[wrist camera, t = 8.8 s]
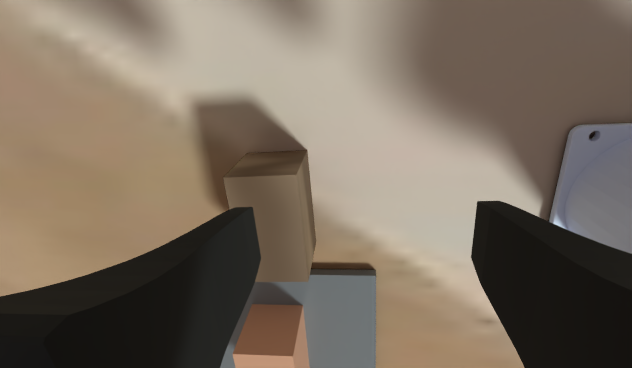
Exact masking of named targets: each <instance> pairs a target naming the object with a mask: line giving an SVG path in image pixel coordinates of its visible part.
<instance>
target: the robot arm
mask: <svg viewBox="0 0 632 368" xmlns="http://www.w3.org/2000/svg"><path fill="white" fill-rule="evenodd" d="M593 131H595V135H594V137H593V138H591V139H589V135H590V133H592V132H593ZM471 258H472V261H473V264H474V267H475V270H476V273H477V275H478V278H479V281H480V283H481V286H482V287H483V289H484V291H485V293H486V295H487V297H488V299H489V301H490V303H491V304H492V306H493V308H494V310H495V312H496V314H497V316H498V317H499V319H500V321H501V323H502V325H503V326H504V328H505V330H506V332H507V334H508V336H509V338H510V339H511V341H512V343H513V345H514V347H515V349H516V351H517V353H518V355H519V357H520V359H521V361H522V363H523V365H524V367H525V368H632V123H617V124H590V125H578V126H576V127H574V128H573V129H572V130H571V131H570V133H569V135H568V139H567V143H566V148H565V152H564V157H563V161H562V166H561V170H560V175H559V179H558V184H557V188H556V192H555V197H554V201H553V206H552V210H551V215H550V219H549V222H548V221H546V220H544V219H542V218H539V217H537V216H535V215H533V214H530V213H528V212H526V211H524V210H521V209H519V208H517V207H514V206H512V205H509V204H507V203H504V202H501V201H477V210H476V219H475V228H474V237H473V245H472V254H471ZM260 261H261V254H260V248H259V242H258V236H257V230H256V223H255V217H254V211H253V207H235V208H232V209H230V210H228V211H226V212H224V213H222V214H220V215H218V216H216V217H215V218H213V219H211V220H209V221H208V222H206V223H204V224H202V225H200V226H199V227H197V228H195V229H193V230H192V231H190V232H188V233H186V234H184V235H182V236H180V237H178V238H176V239H174V240H172V241H171V242H169V243H167V244H165V245H163V246H161V247H159V248H156V249H154V250H152V251H150V252H148V253H145V254H143V255H140V256H138V257H136V258H133V259H131V260H128V261H126V262H123V263H120V264H117V265H114V266H112V267H109V268H106V269H103V270H100V271H97V272H94V273H91V274H88V275H85V276H82V277H78V278H75V279H72V280H68V281H65V282H61V283H57V284H53V285H50V286H46V287H42V288H38V289H34V290H29V291H25V292H20V293H15V294H11V295H6V296H1V297H0V368H220V366H221V363H222V360H223V357H224V354H225V351H226V349H227V346H228V344H229V341H230V339H231V336H232V334H233V332H234V330H235V327H236V325H237V323H238V320H239V318H240V316H241V314H242V311H243V309H244V307H245V305H246V302H247V300H248V298H249V295H250V293H251V291H252V288H253V286H254V283H255V280H256V276H257V273H258V269H259V265H260Z"/></svg>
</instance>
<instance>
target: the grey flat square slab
mask: <svg viewBox="0 0 632 368" xmlns="http://www.w3.org/2000/svg"><path fill="white" fill-rule="evenodd" d="M252 304H266V305H303V310H304V319H305V329H306V338H307V348H308V357H309V366H310V368H375V359H376V271H375V270H342V269H311V271H310V276H309V281H308V282H255V283H254V286H253V288H252V291H251V293H250V295H249V298H248V300H247V302H246V305H245V307H244V309H243V311H242V314H241V316H240V318H239V320H238V323H237V325H236V327H235V330H234V332H233V334H232V336H231V339H230V341H229V344H228V346H227V349H226V351H225V354H224V357H223V360H222V363H221V366H220V368H235V363H234V359H233V352H234V349H235V346H236V344H237V341H238V339H239V336H240V334H241V331H242V329H243V326H244V323H245V321H246V318H247V316H248V313H249V311H250V308H251V306H252Z"/></svg>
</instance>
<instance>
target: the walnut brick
mask: <svg viewBox="0 0 632 368" xmlns="http://www.w3.org/2000/svg"><path fill="white" fill-rule="evenodd" d="M223 180H224V185H225V190H226V195H227V200H228V205H229V210H230V209H232V208H235V207H253V211H254V217H255V223H256V230H257V236H258V242H259V248H260V254H261V261H260V265H259V269H258V273H257V276H256V280H255V282H308V281H309V276H310V271H311V265H312V260H313V255H314V250H315V245H316V236H315V226H314V215H313V205H312V195H311V184H310V174H309V163H308V153H307V150H302V151H282V152H262V153H247V154H246V155H245V156H244V157H243V158H242V159H241V160H240V161H239V162H238V163H237V164H236V165H235V166H234V167H233V168H232V169H231V170H230V171H229V172H228V173H227V174H226V175H225V176H224V177H223Z"/></svg>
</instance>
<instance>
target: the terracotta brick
mask: <svg viewBox="0 0 632 368" xmlns="http://www.w3.org/2000/svg"><path fill="white" fill-rule="evenodd" d="M233 359H234V363H235V368H310V366H309V357H308V348H307V338H306V329H305V319H304V310H303V305H266V304H252V306H251V308H250V311H249V313H248V316H247V318H246V321H245V323H244V326H243V329H242V331H241V334H240V336H239V339H238V341H237V344H236V346H235V349H234V352H233Z"/></svg>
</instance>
